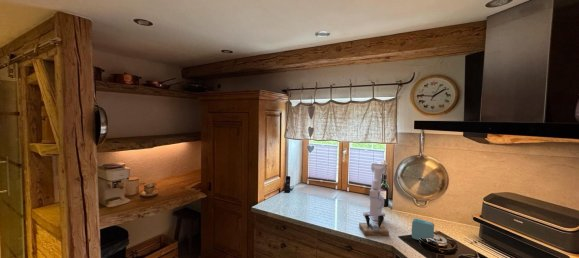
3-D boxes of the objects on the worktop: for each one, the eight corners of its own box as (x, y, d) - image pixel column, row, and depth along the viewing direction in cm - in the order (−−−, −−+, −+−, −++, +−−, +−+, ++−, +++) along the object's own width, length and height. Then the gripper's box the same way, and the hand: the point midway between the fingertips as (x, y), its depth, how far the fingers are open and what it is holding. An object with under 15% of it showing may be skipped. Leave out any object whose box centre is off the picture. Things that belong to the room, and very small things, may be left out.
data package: (433, 241, 147) (434, 222, 147) (432, 244, 144) (433, 225, 143) (412, 235, 154) (413, 217, 153) (411, 238, 150) (412, 220, 150)
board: (359, 226, 164) (359, 222, 164) (381, 227, 165) (381, 223, 164) (364, 235, 152) (365, 231, 152) (388, 235, 153) (389, 231, 152)
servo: (368, 228, 162) (369, 220, 162) (373, 228, 162) (374, 220, 162) (373, 234, 154) (373, 226, 153) (378, 234, 154) (379, 226, 154)
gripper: (365, 209, 153) (365, 228, 154) (387, 209, 154) (386, 229, 154) (362, 205, 160) (361, 223, 161) (383, 205, 161) (382, 224, 161)
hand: (373, 226), depth 158 cm, fingers open, 7 cm apart
